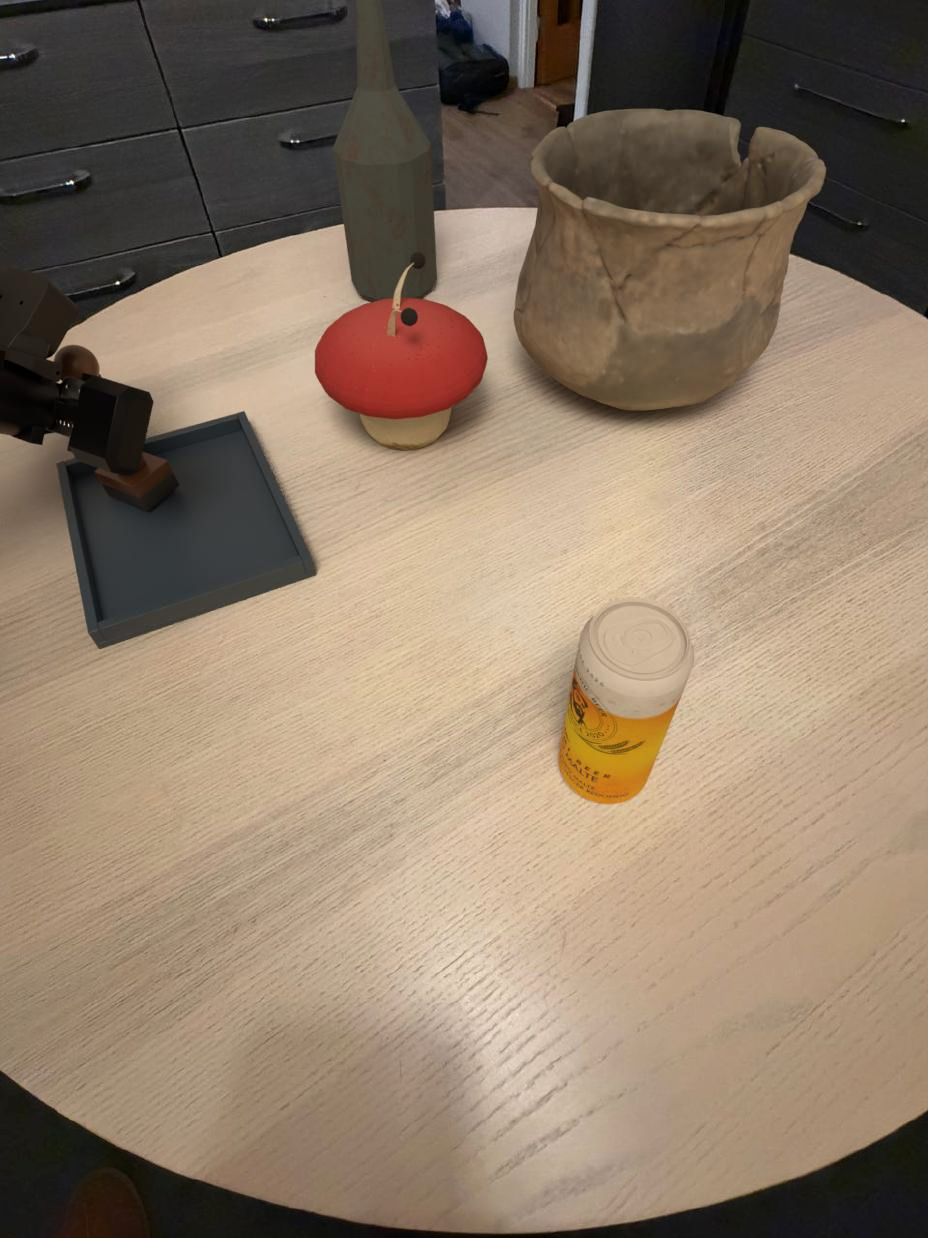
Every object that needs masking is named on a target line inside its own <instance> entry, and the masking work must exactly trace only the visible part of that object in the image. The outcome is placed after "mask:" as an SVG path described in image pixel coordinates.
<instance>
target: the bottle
mask: <svg viewBox="0 0 928 1238" xmlns="http://www.w3.org/2000/svg"><path fill="white" fill-rule="evenodd" d="M355 27H356V28H355V30H356V34H355V35H356V74H357V75H356V76H357V86H356V89H355V91H354V94H353V97H352V99H351V101H350V104H349V107H348V109H347V112H346V115H345V116H344V120H343V121H342V124H341V127H340V130H339V132H338V134H337V136H336V139H335V142H334V145H333V146H332V151H333V156H334V157H333V158H334V163H335V171H336V179H337V186H338V193H339V200H340V207H341V213H342V214H341V215H342V221H343V229H344V235H345V236H344V237H345V243H346V250H347V257H348V264H349V271H350V272H349V273H350V280H351V283H352V284H353V286H354V288H355V289H356V291H357V293H358V295H359V296H361V298H362V299H363V300H364V301H367V302H369V303H371V302H375V301H379V300H383V299H392V298H393V297H394V292H395V289H396V287H397V284H398V282H399V280H400V278H401V276H402V274H403V273H404V271H405V270H406V268H407V267H409V266H410V265H411V262H410V259H411V255H412V254H414V253H415V252H420V253H422V254H423V255H424V256H425V260H426V261H425V265H424V266H423V267H422V268H420V269H417V268H414V267H413V266H411V267H410V269H409V270H408V272H407V275H406V277H405V280H404V284H403V287H402V291H401V298H415V299H424V297H426V296H427V295H428V294H430V293H431V292H432V291H433V289H434V288H435V285H436V283H437V279H438V270H437V249H436V247H437V246H436V245H437V244H436V227H435V226H436V225H435V223H436V222H435V204H434V203H435V202H434V183H433V160H432V159H433V158H432V143H431V141H430V140H429V138H428V137H427V135H426V133H425V132H424V130H423V128H422V126H421V125H420V123H419V122H418V120H417V119H416V117H415V115H414V113H413V111H412V110H411V108H410V107H409V105H408V103H407V102H406V100H405V98H404V96H403V95H402V94H401V92H400V90H399V88H398V87H397V85H396V81H395V80H396V79H395V74H394V67H393V62H392V56H391V49H390V43H389V37H388V30H387V25H386V19H385V12H384V6H383V1H382V0H355Z"/></svg>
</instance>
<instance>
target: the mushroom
mask: <svg viewBox="0 0 928 1238" xmlns="http://www.w3.org/2000/svg"><path fill="white" fill-rule="evenodd" d="M425 261H426V260H425V256H424V255H423V254H422V253H420V252H415V253H414V254H412V255H411V259H410V262H411V265H410V266H409V267H407V268H406V270H405V271H404V273H403V274H402V276H401V278H400V280H399V282H398V284H397V287H396V289H395V292H394V297H393V298H392V299H383V300H379V301H375V302H367V303H364V304H362V305H359V306H357V307H355V308H353V309H351V310H348V311H346V312H345V313H343V314H342V315H341V316H340V317H338V318H337V319H336V320H334V321H333V322H332V323H331V324H330V325H329V326H327V328H326V329H325V330H324V332H323V334H322V335H321V337H320V339H319V341H318V342H317V345H316V347H315V349H314V374H315V378H316V379H317V380H318V382H319V384H320V386H321V387H322V389H323V390H324V393H325V394H326V395H327V397H329V398H330V399H332V400H333V401H335V402H336V403H337V404H338V405H340V406H341V407H343V408H344V409H346V410H348V411H352V412H355V413H357V414H359V417H360V421H361V424H362V425H363V428H364V429H365V431H366V433H367V435H369V436H370V438H372V439H374V441H376V442H378V443H379V444H380V445H381V446H383V447H386V448H389V449H391V450H396V451H397V450H398V451H414V450H418V449H422V448H424V447H428V446H430V445H431V444H432V443H434V442H436V441H437V440H438V438H440V437H441V435H442V434H443V433H444V432H445V431H446V430H447V428H448V425H449V422H450V418H451V413H452V407H454V406H456V405H457V404H459V403H461V402H463V401H465V400H466V399H467V398H468V397H469V396H470V395H471V394H472V393H473V391H475V389H476V388H477V387H478V386H479V385H480V383H482V380H483V377H484V373H485V371H486V368H487V364H488V359H489V357H488V352H487V347H486V343H485V339H484V336H483V335H482V332H481V331H480V330H479V329H478V328H477V326H475V324H473V322H472V321H471V320H470V318H468V317H467V316H466V315H464V314H462V313H461V312H459V311H457V310H455V309H454V308H452V307H450V306H448V305H446V304H443V303H440V302H436V301H432V300H429V299H426V298H422V299H415V298H401V291H402V287H403V284H404V280H405V277H406V275H407V272H408V270H409V269H410V267H411V266H413V267H414V268H417V269H420V268H422V267H423V266H424V265H425Z"/></svg>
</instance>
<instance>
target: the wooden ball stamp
mask: <svg viewBox="0 0 928 1238" xmlns="http://www.w3.org/2000/svg"><path fill="white" fill-rule="evenodd" d="M53 361H54V362H57V363H60V364H63V368H62V373H61V378H60V381H61V382H62V381H63V379H65V378H66V377H72V378H75V379H78V380H81V379H82V374H83V372H84V373H87V374H90V375H93V376H94V375H95V376H99V377H102V374H100V370H101V369H100V367H101V366H100V363H99V361H98V358H97V357H96V356H95V354H94V353H93V352H92V351H91V350H89V349H88V348H87V347H84V346H82V345H78V344H68V345H65V346H62V347H61V348H60V349H58V350H57V351H56V353H55V354H54V357H53ZM95 474H96V475H97V477H98V479H99V481H100V482H101V484H102V485H103V487H104V489H105V490H106V492H107V494H108V495H109V496H110V497H113V498H115V499H117V500H120V501H122V502H125V503H127V504H130V505H132V506H135V507H137V508H139V509H142V510H144V511H149V510H150V509H151V508H152V507H154V506H155V505H156V504H157V503H159V502H160V501H161V500H162V499H163V498H165V497H166V496H167V495H168V494H170V493H171V492H172V491H173V490H174V489H176V488H177V487H178V486H179V483H178V481H177V479H176V477H175V475H174V473H173V472H172V469H171V467H170V465H169V463H168V461H167V460H164V459H162V458H159V457H156V456H153V455H151V454H148V453H145V452H143V453H142V457H141V462H140V466H139V470H138V471H137V472H136V473H134V474H133V475H131V476H130V475H123V474H116V473H111V472H108V471H105V470H102V469H100V468H98V469H97V470H96V471H95Z"/></svg>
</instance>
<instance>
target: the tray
mask: <svg viewBox="0 0 928 1238" xmlns="http://www.w3.org/2000/svg"><path fill="white" fill-rule="evenodd" d="M262 448H263V447H262V446H261V444H260V442H259V440H258V438H257V435H256V433H255V431H254V429H253V427H252V424H251V422H250V420H249V418H248V416H247V414H246V412H245V410H242V411H239V412H236V413H232V414H228V415H225V416H222V417H221V416H220V417H218V418H214V419H211V420H207V421H204V422H200V423H197V424H193V425H189V426H185V427H182V428H178V429H175V430H171V431H168V432H164V433H160V434H157V435H153V436H149V437H146V439H145V444H144V448H143V452H145V453H148V454H151V455H153V456H156V457H159V458H162V459H164V460H167V461H168V463H169V465H170V467H171V469H172V472H173V473H174V475H175V477H176V479H177V481H178V483H179V486H178V487H177V488H176V489H174V490H173V491H172V492H171V493H170V494H168V495H167V496H166V497H165V498H163V499H162V500H161V501H160V502H159V503H157V504H156V505H155V506H154V507H152V508H151V509H150V510H149V511H144V510H142V509H139V508H137V507H135V506H132V505H130V504H127V503H125V502H122V501H120V500H117V499H115V498H113V497H110V496H109V495H108V494H107V492H106V490H105V489H104V487H103V485H102V484H101V482H100V481H99V479H98V477H97V475H96V474H95V471H96V470H97V469H98V468H97V467H94V466H91V465H89V464H86V463H83V462H80V461H77V460H76V458H75V457H73V458H69V459H66V460H62V461H59V462H56V463H55V466H56V471H57V475H58V481H59V487H60V492H61V497H62V503H63V509H64V513H65V519H66V524H67V529H68V535H69V539H70V545H71V550H72V555H73V560H74V566H75V572H76V576H77V582H78V586H79V592H80V598H81V602H82V603H81V604H82V608H83V614H84V619H85V623H86V629H87V633H88V635H89V637H90V638H91V639H92V642H94V644H95V646H96V647H97V648H98V650H101V649H104V648H107V647H109V646H112V645H115V644H119V643H121V642H125V641H127V640H131V639H134V638H136V637H139V636H142V635H145V634H148V633H151V632H153V631H157V630H159V629H162V628H165V627H168V626H171V625H175V624H177V623H179V622H183V621H187V620H189V619H193V618H195V617H198V616H201V615H203V614H206V613H207V614H208V612H212V611H215V610H219V609H222V608H225V607H226V606H229V605H233V604H235V603H238V602H241V601H245V600H247V599H250V598H254V597H256V596H259V595H262V594H265V593H267V592H271V591H274V590H277V589H279V588H283V587H285V586H288V585H292V584H294V583H297V582H300V581H303V580H306V579H309V578H312V577H315V576H317V572H316V567H315V564H314V560H313V557H312V554H311V552H310V551H309V548H308V546H307V544H306V541H305V539H304V537H303V535H302V532H301V530H300V528H299V527H298V525H297V521H296V520H295V518H294V516H293V514H292V511H291V509H290V507H289V505H288V503H287V500H286V498H285V496H284V494H283V491H282V489H281V488H280V487H281V486H280V485H279V483H278V481H277V479H276V476H275V474H274V472H273V470H272V468H271V466H270V463H269V461H268V459H267V457H266V455H265V452H264V450H263V449H262Z"/></svg>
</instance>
